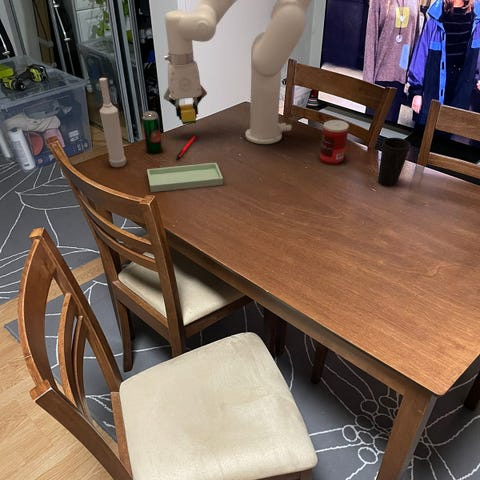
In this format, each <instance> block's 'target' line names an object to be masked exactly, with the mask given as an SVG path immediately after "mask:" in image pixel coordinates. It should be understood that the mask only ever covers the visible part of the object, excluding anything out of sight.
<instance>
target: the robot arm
mask: <svg viewBox="0 0 480 480" xmlns="http://www.w3.org/2000/svg"><path fill="white" fill-rule="evenodd" d="M236 2H238V0H201V1H200V2H199V4H198V5H197V7H196V8H195V10H194V12H193V13H191V14H190V13H189V12H188V11H186V10H181V9H179V10H178V9H177V10H170V11H168V12H166V14H165V15H164V24H165V33H166V41H167V48H168V53H167V54H166V55H164V61H168V63H167V84H168V85H167V86H168V87H167V89H166V90H165V92H164V94H163V96H162V97H163V99H164V100H165V101H167V102H169V103H170V104H171V105H173V107H175V114H176V117H177V118H178V119H179V121H181V119H182V118H181V108H180V105H181V104H180V100H185V99H192V101H193V102H192V103H191V104H192V106H193V108H194V110H195V115H196V119H197V118H198V115H199V104H200V102H201V101H202V100H203V99H204V98H205V97H206V96H207V95H208V92H207V90H206V88H204V86H203V85H202V84H201V77H200V70H199V66H198V62H197V61H196V60H195V58H194V57H195V56H194V45H193V41H195V42H200V43H205V42H209V41H211V40H212V39H213V38H214V37H215V35H216V30H217V26H218V24H219V23H220V21H221V20H222V18H223V17H224V16H225V14H226V13H227V12H228V11H229V9H230V8H231V7H232V6H233V5H234V4H235V3H236ZM312 2H313V0H276V2H275V3H274V5H273V7H272V9H271V11H270V21H269V24H268V26H267V27H266V29H265V31H263V32H260V33H259V34H258V35H257V36H256V37H255V38H254V39H253V41H252V44H251V49H250V59H251V60H250V61H251V62H250V107H249V108H250V111H249V128H248V129H247V130H246V131H245V134H244V136H245V139H246V140H247V141H248V142H251V143H254V144H258V145H270V144H274V143H275V144H276V143H278V142H279V141H281V139H282V137H283V132H291V131H292V128H293V127H292V125H291V124H287V123H286V122H281V123H280V122H279V115H280V114H279V113H280V97H281V85H282V69H283V68H284V66H285V64H286V63H287V61H288V60H289V58H290V57H291V55H292V53H293V51H294V49H295V48H296V46H297V45H298V43H299V41H300V39H301V37H302V35H303V34H304V30H305V27H306V15H305V14H306V12H307V10H308V8H309V7H310V5H311V3H312Z"/></svg>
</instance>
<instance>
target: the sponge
mask: <svg viewBox="0 0 480 480" xmlns="http://www.w3.org/2000/svg"><path fill="white" fill-rule="evenodd" d="M192 104H193V103H189V104H188V103H187V104H179V105H180V108H181V118H182V119H181V120H180V121H181V123H182V125H191V124H196V123H197V118H196V115H195V110H194V108H193V106H192Z"/></svg>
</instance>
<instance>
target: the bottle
mask: <svg viewBox="0 0 480 480" xmlns="http://www.w3.org/2000/svg"><path fill="white" fill-rule="evenodd" d="M108 83H109V82H108V78H107V77H100V78H99V85H100V89H101V95H102V101H103V103H102V107H101V108H100V109H99V114H100V115H99V116H100V119H101V122H102V128H103V129H102V130H103V133H104V138H105V143H106V147H107V152H108V156H109V158H108V161H109V164H110V166H111V167H113V168H121V167H124V166H126V164H127V158H126V156H125V151H124V143H123V137H122V130H121V122H120V118H119V117H120V116H119V115H120V114H119V110H118V108H117V107H116V106H115V105H113V103H112V102H111V97H110V91H109V85H108Z"/></svg>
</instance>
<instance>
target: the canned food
mask: <svg viewBox="0 0 480 480" xmlns="http://www.w3.org/2000/svg"><path fill="white" fill-rule="evenodd" d="M349 125H350V124H349V123H347V121H344V120H339V119H330V120H326V121H325V122H324V123H323V127H322V132H321V133H322V134H321V140H320V141H321V142H320V150H319V159H320V161H321V162H322V163H324V164H327V165H336V164H337V165H338V164H340V163H342V162H343V160H344V157H345V152H346V146H347V139H348V135H349V128H350V126H349Z"/></svg>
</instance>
